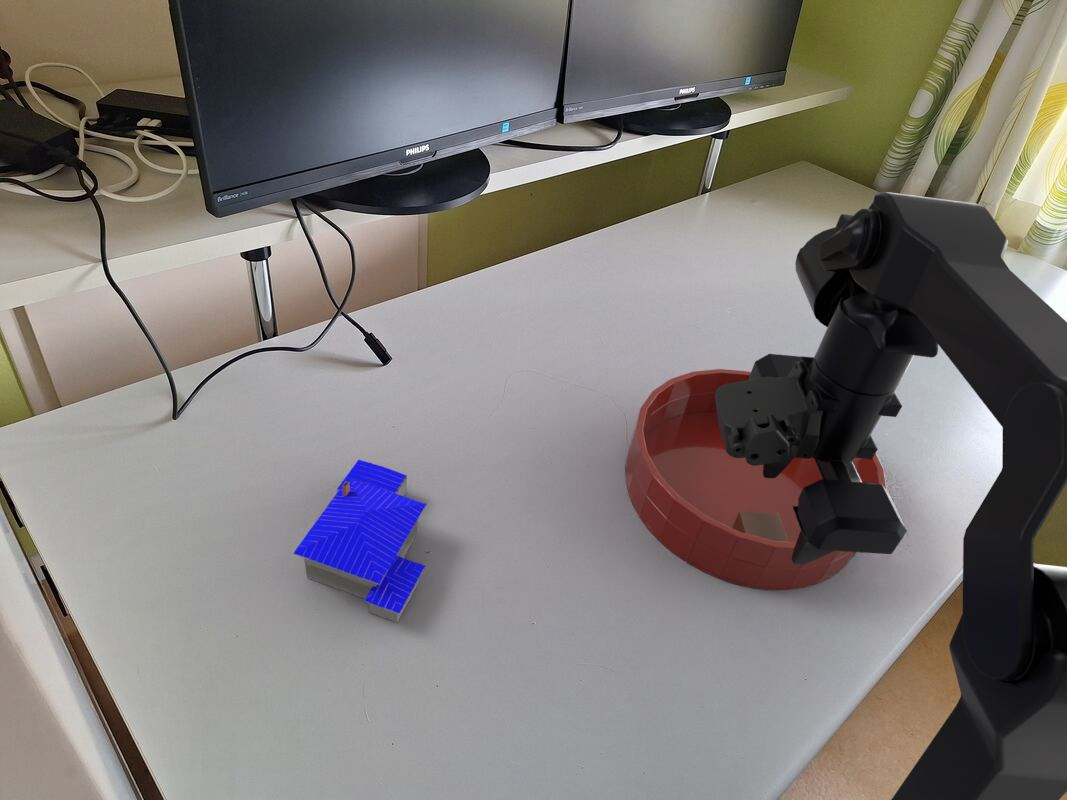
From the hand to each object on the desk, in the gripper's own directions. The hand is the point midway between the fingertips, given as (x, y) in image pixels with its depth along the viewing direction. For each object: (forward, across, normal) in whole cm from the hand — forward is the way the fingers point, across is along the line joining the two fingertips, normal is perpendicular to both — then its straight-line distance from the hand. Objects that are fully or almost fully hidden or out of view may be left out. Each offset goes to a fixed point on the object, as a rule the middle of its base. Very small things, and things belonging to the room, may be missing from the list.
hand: (782, 517), depth 63 cm
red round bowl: (+12, -15, +4) cm, 20 cm away
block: (+12, -6, +2) cm, 14 cm away
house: (+13, -4, -35) cm, 38 cm away
